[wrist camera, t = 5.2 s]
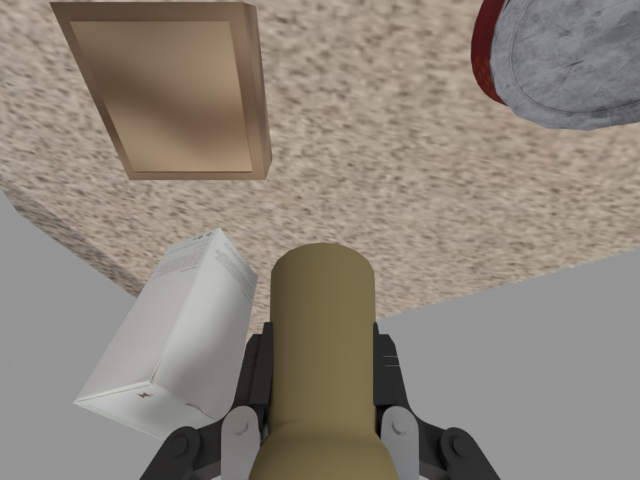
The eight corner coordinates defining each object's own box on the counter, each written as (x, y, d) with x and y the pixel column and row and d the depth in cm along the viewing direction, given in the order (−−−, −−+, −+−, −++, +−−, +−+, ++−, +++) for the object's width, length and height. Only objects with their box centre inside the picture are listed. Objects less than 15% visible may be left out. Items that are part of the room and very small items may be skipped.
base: (97, 6, 18) (45, 1, 14) (256, 6, 18) (241, 1, 14) (154, 159, 24) (127, 181, 20) (272, 159, 24) (264, 181, 20)
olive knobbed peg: (261, 303, 17) (202, 584, 9) (283, 229, 14) (220, 582, 5) (351, 322, 19) (377, 586, 10) (394, 258, 15) (492, 585, 6)
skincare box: (169, 242, 29) (60, 401, 17) (223, 223, 28) (147, 382, 15) (215, 292, 34) (156, 445, 22) (263, 279, 33) (229, 434, 20)
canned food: (505, 93, 25) (515, 180, 21) (443, -1, 20) (438, 87, 16) (720, -28, 16) (814, 77, 12) (699, -243, 12) (843, -197, 7)
